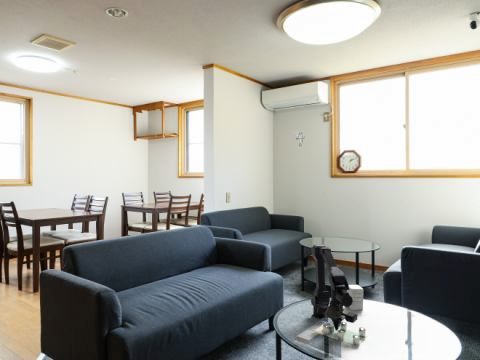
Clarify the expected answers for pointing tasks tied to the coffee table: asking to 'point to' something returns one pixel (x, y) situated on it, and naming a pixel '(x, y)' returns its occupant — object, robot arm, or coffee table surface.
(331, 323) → the gear
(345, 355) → the coffee table surface
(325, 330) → the spacer field
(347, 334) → the mat
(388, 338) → the coffee table surface
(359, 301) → the supplement box
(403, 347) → the coffee table surface
